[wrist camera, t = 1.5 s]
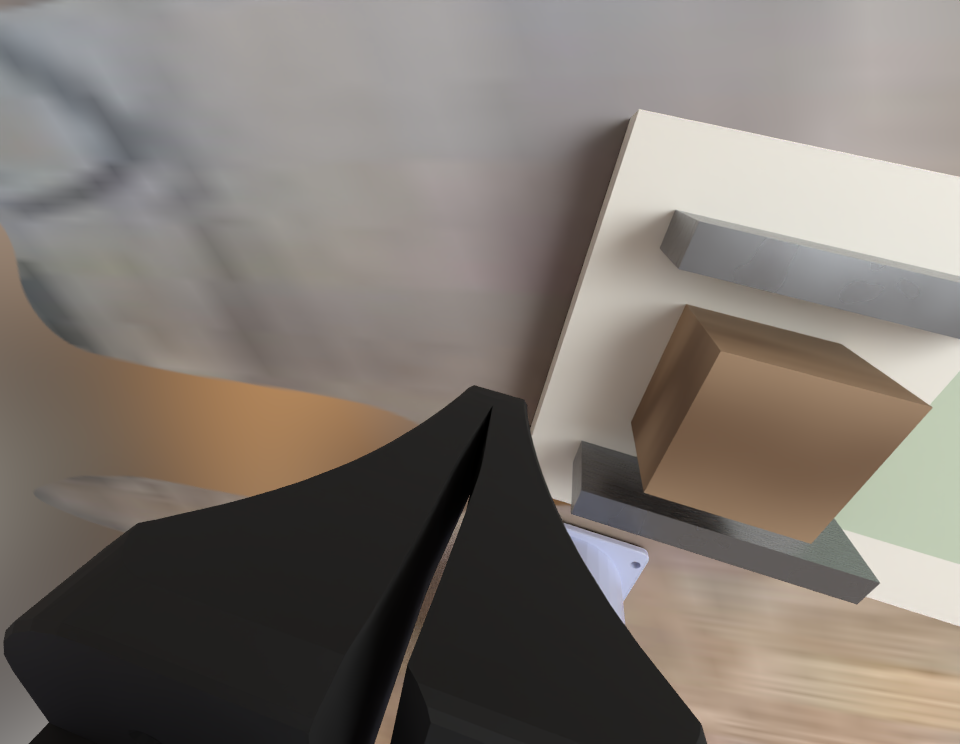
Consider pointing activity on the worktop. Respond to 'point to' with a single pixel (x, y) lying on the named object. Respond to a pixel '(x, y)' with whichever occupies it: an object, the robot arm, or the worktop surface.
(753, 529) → the channel walls
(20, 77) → the worktop surface
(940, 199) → the channel board
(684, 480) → the walnut block
